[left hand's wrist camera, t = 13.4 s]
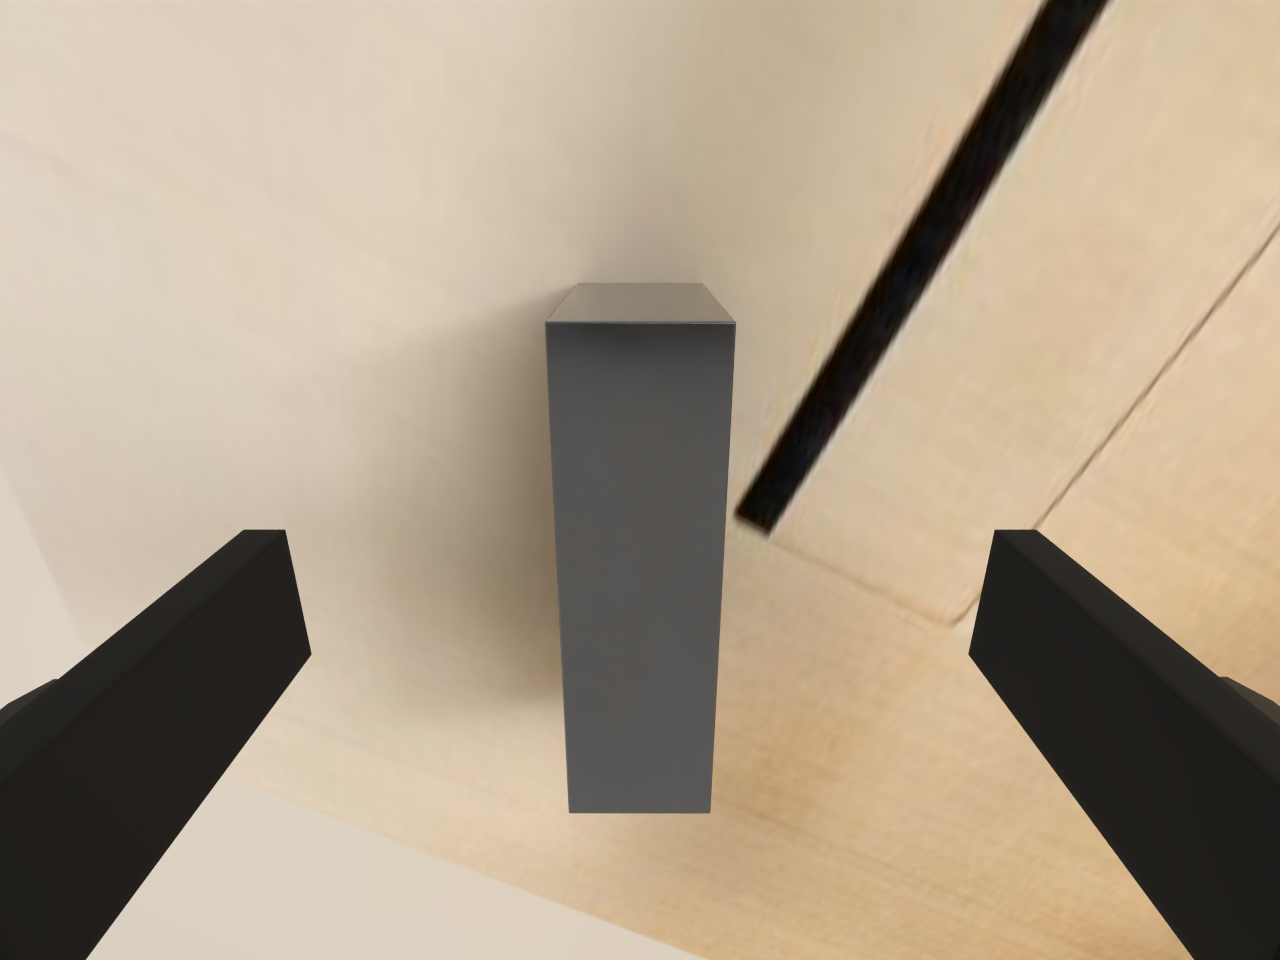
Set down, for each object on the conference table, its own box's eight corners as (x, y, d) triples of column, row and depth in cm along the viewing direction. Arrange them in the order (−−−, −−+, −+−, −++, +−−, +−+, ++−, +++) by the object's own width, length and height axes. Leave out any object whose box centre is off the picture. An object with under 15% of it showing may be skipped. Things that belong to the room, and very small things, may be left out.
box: (577, 283, 33) (544, 321, 22) (703, 283, 33) (736, 321, 22) (588, 646, 41) (568, 813, 30) (690, 646, 41) (710, 814, 30)
